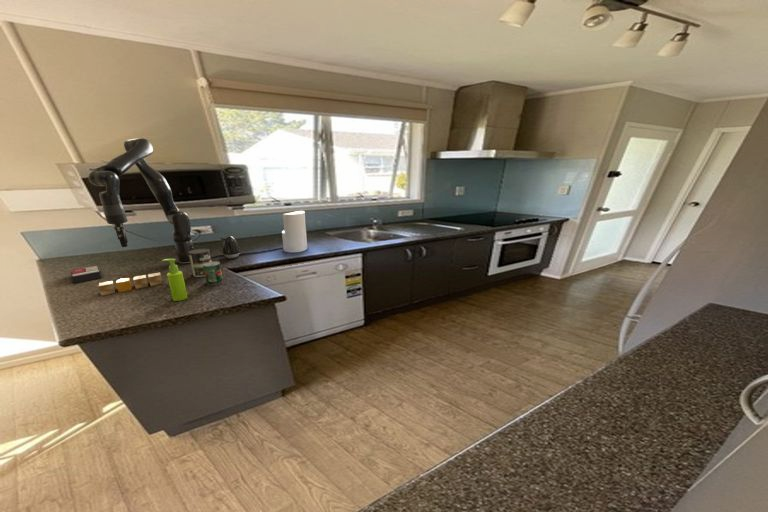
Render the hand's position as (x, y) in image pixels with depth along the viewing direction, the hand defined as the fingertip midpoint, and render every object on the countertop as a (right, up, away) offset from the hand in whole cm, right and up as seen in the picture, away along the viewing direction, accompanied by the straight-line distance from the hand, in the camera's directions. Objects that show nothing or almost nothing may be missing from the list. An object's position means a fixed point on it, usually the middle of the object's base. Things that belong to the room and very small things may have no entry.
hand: (125, 244), depth 145 cm
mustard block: (-1, -23, +1) cm, 23 cm away
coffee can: (+26, -16, +22) cm, 38 cm away
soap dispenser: (+33, -26, -7) cm, 43 cm away
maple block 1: (-6, -24, -3) cm, 25 cm away
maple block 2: (+9, -20, +8) cm, 24 cm away
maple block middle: (+5, -22, +5) cm, 23 cm away
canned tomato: (+39, -20, +11) cm, 46 cm away
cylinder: (+65, -1, +72) cm, 97 cm away
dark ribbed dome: (+28, -7, +51) cm, 58 cm away
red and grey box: (-35, -18, +15) cm, 42 cm away
